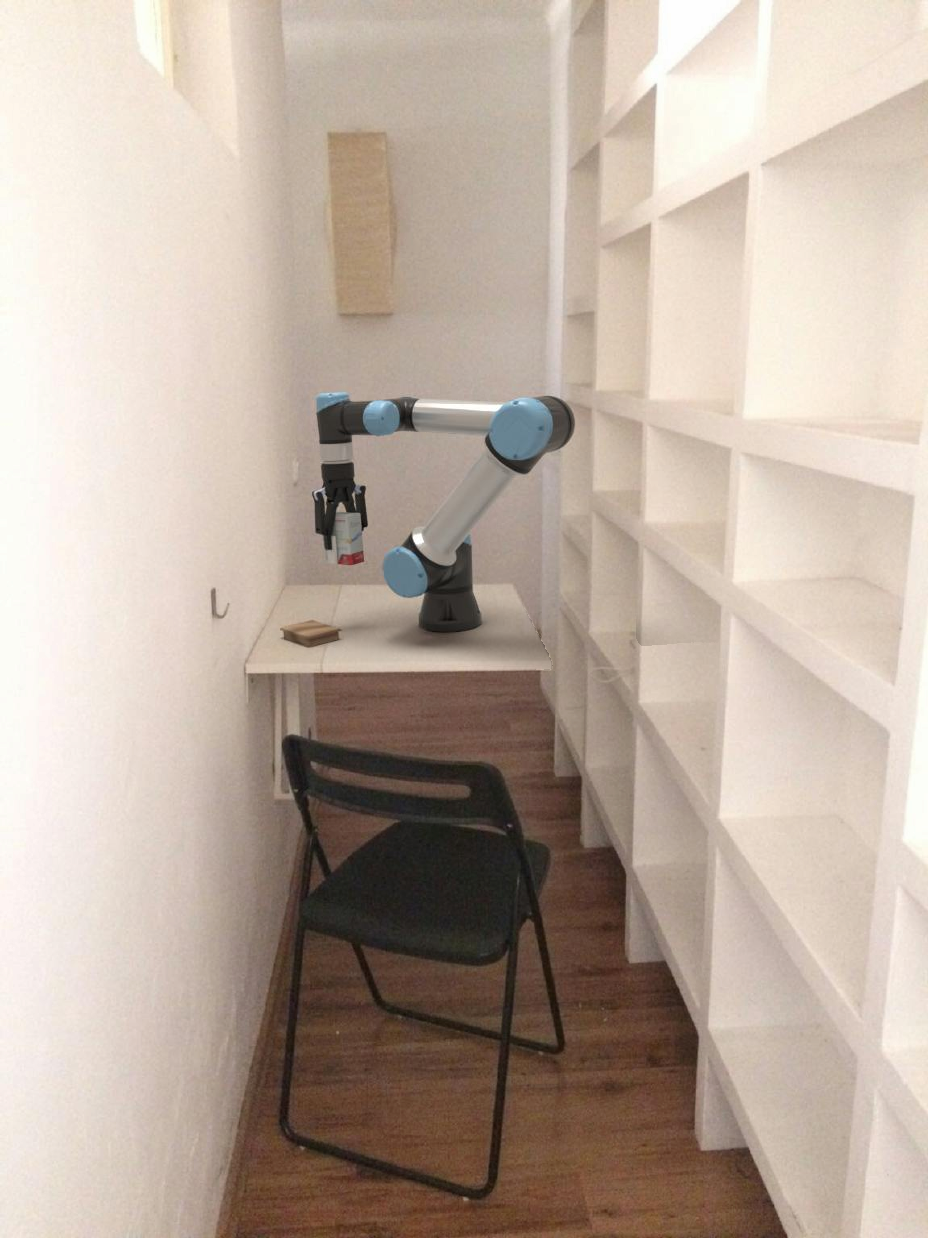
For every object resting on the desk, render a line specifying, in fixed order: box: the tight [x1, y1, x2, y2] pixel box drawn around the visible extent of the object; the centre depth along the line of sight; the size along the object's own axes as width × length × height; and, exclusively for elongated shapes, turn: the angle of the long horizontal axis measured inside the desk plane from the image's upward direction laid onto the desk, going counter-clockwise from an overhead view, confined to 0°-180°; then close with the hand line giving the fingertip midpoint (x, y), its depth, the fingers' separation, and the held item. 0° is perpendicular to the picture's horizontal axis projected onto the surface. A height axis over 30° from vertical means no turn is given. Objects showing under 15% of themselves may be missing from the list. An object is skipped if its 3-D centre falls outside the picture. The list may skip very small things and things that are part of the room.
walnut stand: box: [279, 619, 342, 648], centre depth 225 cm, size 12×9×2 cm
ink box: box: [322, 511, 365, 566], centre depth 226 cm, size 9×5×12 cm, turn 56°
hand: (344, 560), depth 228 cm, fingers closed on ink box, 6 cm apart
